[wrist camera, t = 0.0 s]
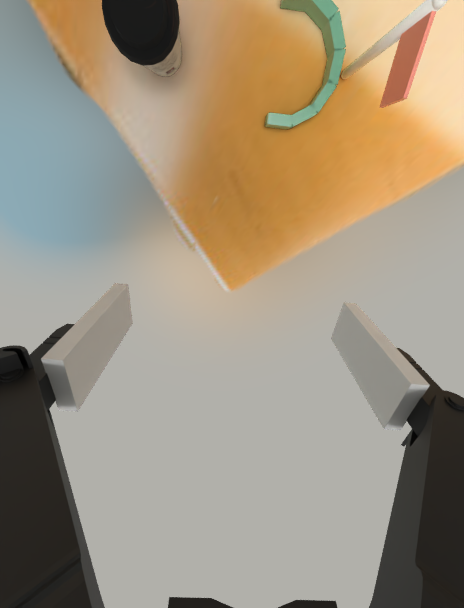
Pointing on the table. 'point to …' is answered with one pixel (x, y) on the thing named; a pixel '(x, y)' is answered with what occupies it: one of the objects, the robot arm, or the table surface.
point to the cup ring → (325, 17)
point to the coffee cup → (146, 32)
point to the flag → (401, 51)
